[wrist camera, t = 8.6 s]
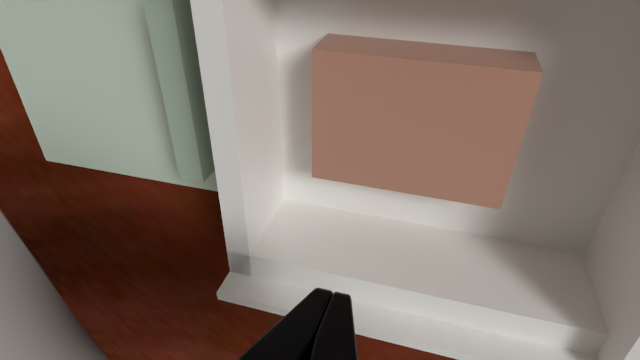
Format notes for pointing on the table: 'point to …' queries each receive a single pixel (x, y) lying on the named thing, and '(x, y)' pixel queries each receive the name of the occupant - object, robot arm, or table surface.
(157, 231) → the table surface
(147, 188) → the table surface
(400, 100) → the box
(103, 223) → the table surface
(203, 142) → the lid
